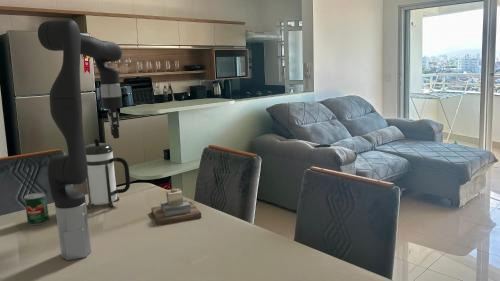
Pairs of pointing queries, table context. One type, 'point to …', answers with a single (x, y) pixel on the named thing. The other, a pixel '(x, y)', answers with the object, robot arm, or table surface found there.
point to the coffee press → (103, 174)
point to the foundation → (175, 212)
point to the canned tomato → (36, 208)
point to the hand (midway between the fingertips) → (115, 136)
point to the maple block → (174, 197)
